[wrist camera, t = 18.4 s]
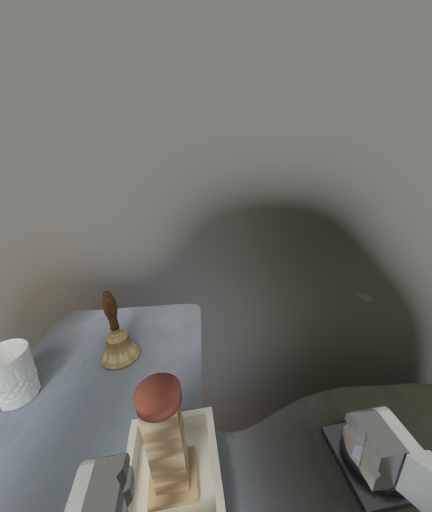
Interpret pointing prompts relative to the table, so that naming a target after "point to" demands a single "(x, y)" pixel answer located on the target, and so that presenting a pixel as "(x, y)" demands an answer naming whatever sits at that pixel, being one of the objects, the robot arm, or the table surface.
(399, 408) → the table surface
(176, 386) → the beige red tall post
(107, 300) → the hand bell
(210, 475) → the tray
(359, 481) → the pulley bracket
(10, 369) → the white cup
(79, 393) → the table surface
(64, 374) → the table surface
